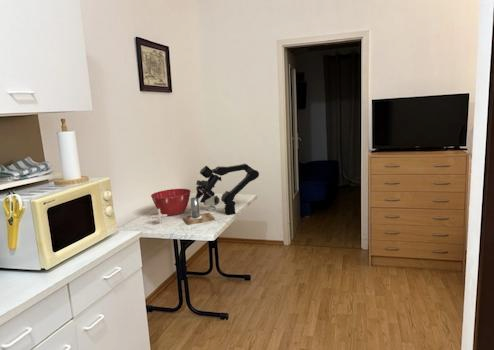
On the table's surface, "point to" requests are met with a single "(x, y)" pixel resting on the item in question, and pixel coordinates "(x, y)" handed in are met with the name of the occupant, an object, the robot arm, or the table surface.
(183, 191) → the mixing bowl
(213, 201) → the pneumatic valve
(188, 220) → the mounting plate
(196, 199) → the steel hub
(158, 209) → the pipe connector
